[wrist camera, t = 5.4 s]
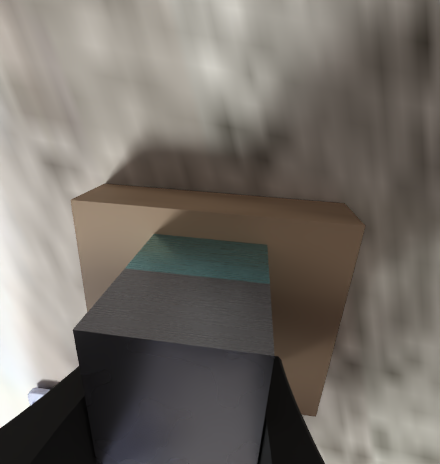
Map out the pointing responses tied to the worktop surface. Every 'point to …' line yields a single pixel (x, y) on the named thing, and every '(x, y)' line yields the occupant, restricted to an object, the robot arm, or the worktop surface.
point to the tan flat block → (239, 230)
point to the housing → (180, 355)
